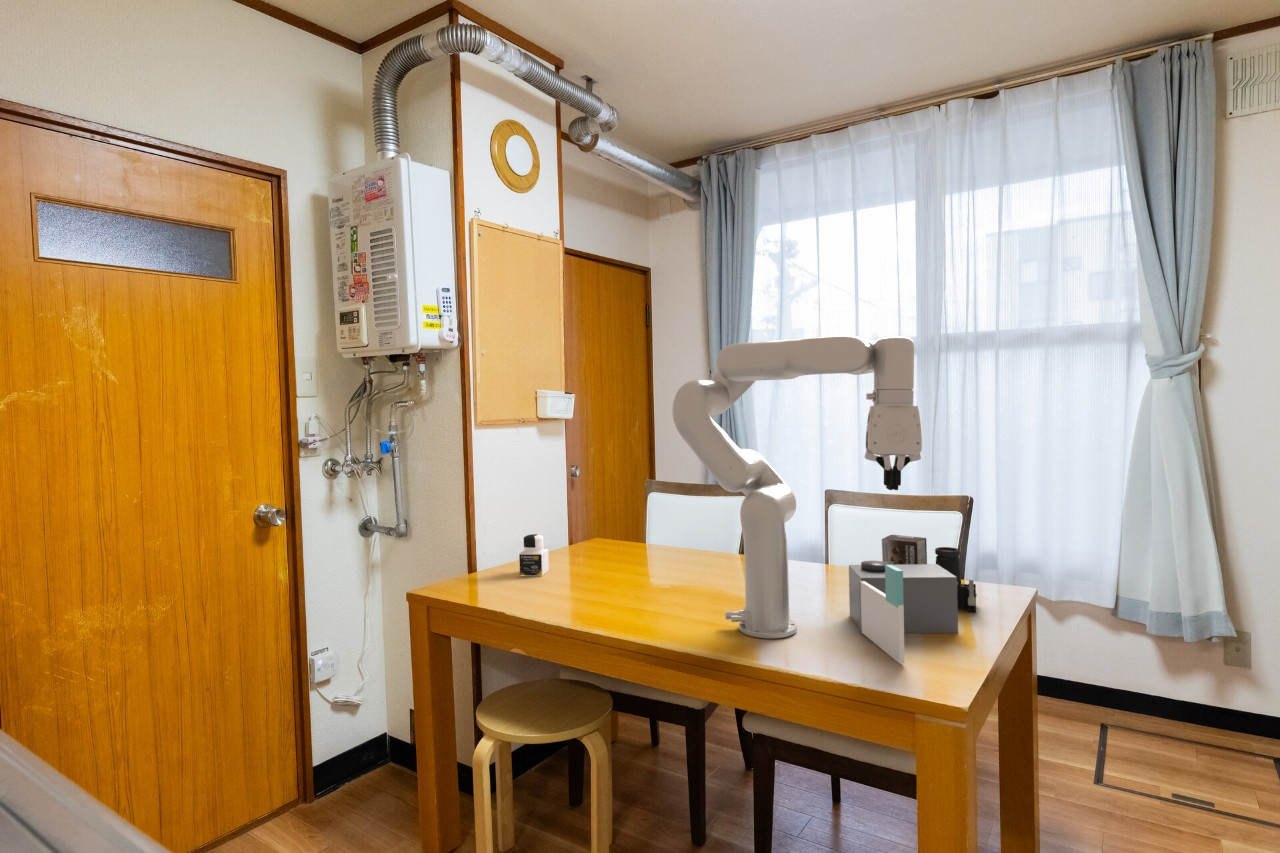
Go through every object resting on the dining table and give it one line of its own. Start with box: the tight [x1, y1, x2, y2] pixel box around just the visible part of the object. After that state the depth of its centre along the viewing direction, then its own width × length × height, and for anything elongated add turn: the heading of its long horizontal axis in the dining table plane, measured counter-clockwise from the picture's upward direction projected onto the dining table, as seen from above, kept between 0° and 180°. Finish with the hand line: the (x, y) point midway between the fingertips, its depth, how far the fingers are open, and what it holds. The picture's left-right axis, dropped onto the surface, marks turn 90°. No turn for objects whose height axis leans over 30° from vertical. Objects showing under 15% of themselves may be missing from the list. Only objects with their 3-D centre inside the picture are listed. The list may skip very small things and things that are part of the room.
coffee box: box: [881, 534, 928, 565], centre depth 166 cm, size 9×6×16 cm
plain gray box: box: [848, 560, 959, 634], centre depth 150 cm, size 20×12×13 cm, turn 85°
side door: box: [859, 565, 906, 664], centre depth 135 cm, size 19×1×18 cm, turn 4°
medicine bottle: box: [518, 533, 550, 577], centre depth 207 cm, size 7×7×12 cm
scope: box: [934, 546, 978, 613], centre depth 161 cm, size 8×14×10 cm
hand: (892, 489), depth 136 cm, fingers closed
